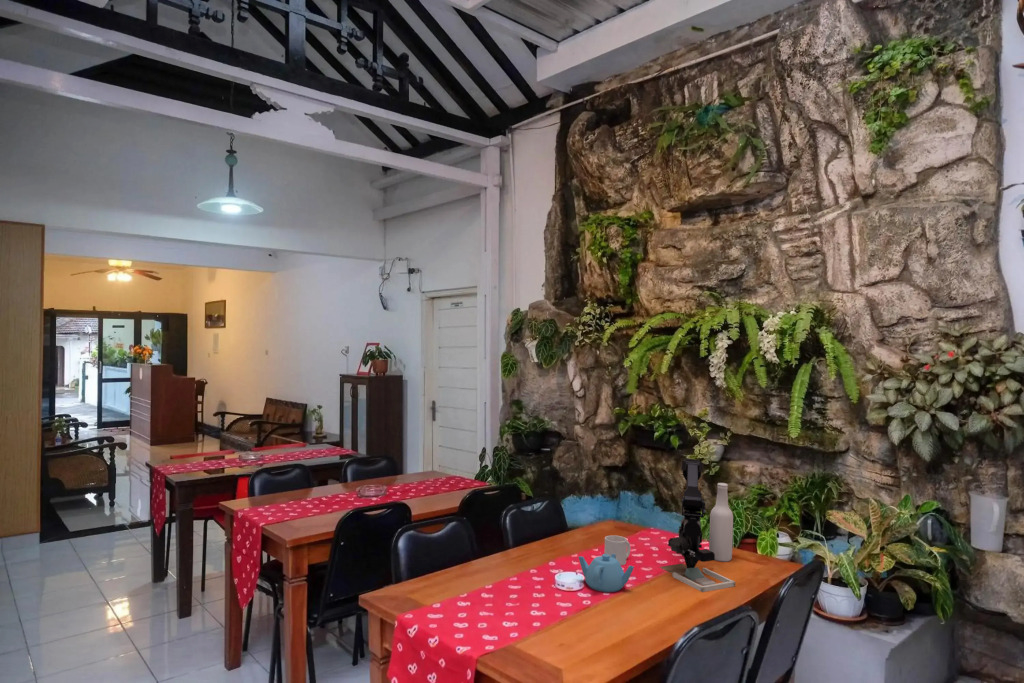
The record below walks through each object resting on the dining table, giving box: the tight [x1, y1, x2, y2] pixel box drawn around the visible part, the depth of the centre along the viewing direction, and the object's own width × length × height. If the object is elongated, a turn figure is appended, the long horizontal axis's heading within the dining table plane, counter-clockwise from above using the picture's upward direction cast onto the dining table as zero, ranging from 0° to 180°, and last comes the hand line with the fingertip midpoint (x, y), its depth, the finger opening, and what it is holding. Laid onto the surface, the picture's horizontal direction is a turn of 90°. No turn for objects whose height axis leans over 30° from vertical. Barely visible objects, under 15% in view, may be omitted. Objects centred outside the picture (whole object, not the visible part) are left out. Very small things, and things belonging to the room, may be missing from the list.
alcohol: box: [708, 482, 734, 563], centre depth 251 cm, size 9×9×30 cm
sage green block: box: [684, 566, 706, 582], centre depth 224 cm, size 5×5×2 cm
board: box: [659, 563, 687, 577], centre depth 231 cm, size 11×11×2 cm
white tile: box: [694, 577, 717, 586], centre depth 219 cm, size 5×5×2 cm
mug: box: [603, 535, 631, 566], centre depth 239 cm, size 12×8×10 cm
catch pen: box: [672, 567, 736, 593], centre depth 220 cm, size 15×15×3 cm
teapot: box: [578, 553, 635, 593], centre depth 217 cm, size 15×15×11 cm
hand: (689, 572), depth 226 cm, fingers closed
